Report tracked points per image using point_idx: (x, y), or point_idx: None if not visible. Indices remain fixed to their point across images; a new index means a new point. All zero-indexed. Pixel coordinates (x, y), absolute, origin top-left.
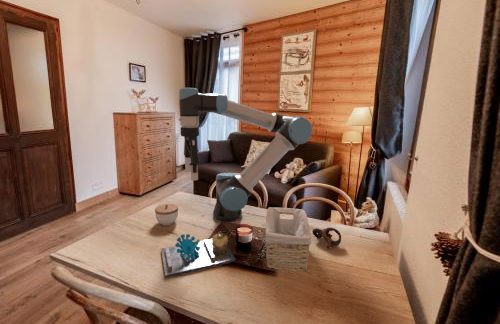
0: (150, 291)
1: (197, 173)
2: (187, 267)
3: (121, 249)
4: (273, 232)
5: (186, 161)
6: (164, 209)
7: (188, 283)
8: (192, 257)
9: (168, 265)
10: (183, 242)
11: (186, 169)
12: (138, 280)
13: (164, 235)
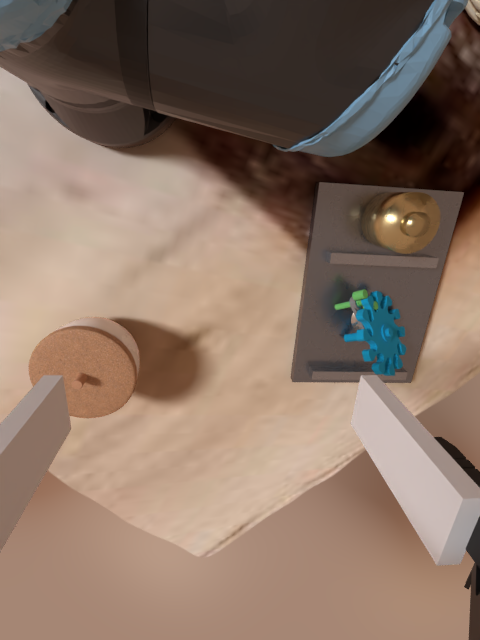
0: (426, 405)
1: (409, 416)
2: (414, 332)
3: (234, 460)
4: None
5: (5, 524)
6: (103, 386)
7: (452, 335)
8: (399, 318)
9: (399, 379)
10: (383, 351)
11: (58, 440)
12: None
13: (202, 362)
